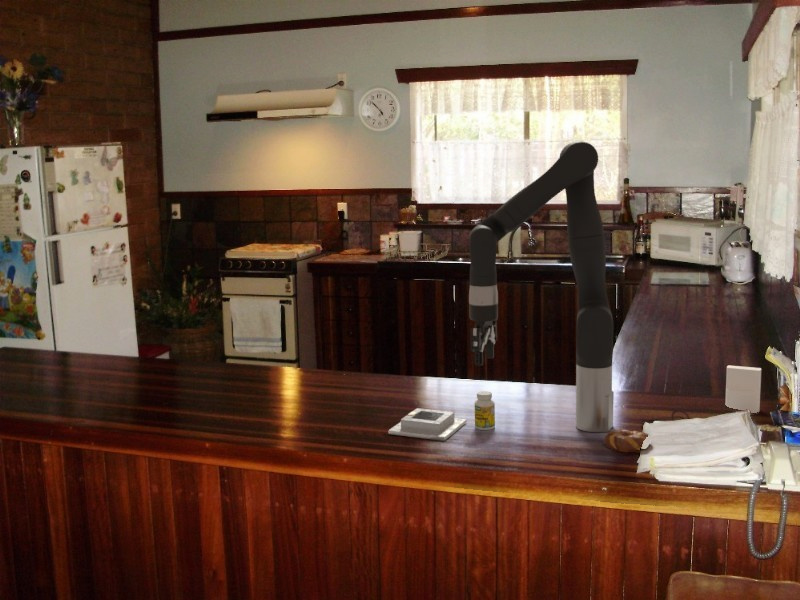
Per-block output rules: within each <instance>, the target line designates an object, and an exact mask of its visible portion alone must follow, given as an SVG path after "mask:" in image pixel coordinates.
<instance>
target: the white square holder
mask: <svg viewBox="0 0 800 600" xmlns="http://www.w3.org/2000/svg"><path fill="white" fill-rule="evenodd" d="M466 424H467V419H466V418H457V417H455V411H446V410H439V409H438V410H437V409H428V408H427V409H426V408H420V407H417V408H415V409H414V410H412V411H410V412H409V413H407V415H405V416H404V417H402V418H401V419H400V422H398V423H397V424H395V425H394V426H392V427H391V428H390V429H389V430H388V435H393V436H394V435H395V436H402V437H403V436H404V437H409V438H418V439H419V438H420V439H428V440H433V441H434V440H435V441H442V442H443V441H444V442H445V441H447V440H448V439H449V438H450V437H452V435H453V434H455V433H456V432H457V431H458V430H460V429H461V428H462V427H464V425H466Z"/></svg>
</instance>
